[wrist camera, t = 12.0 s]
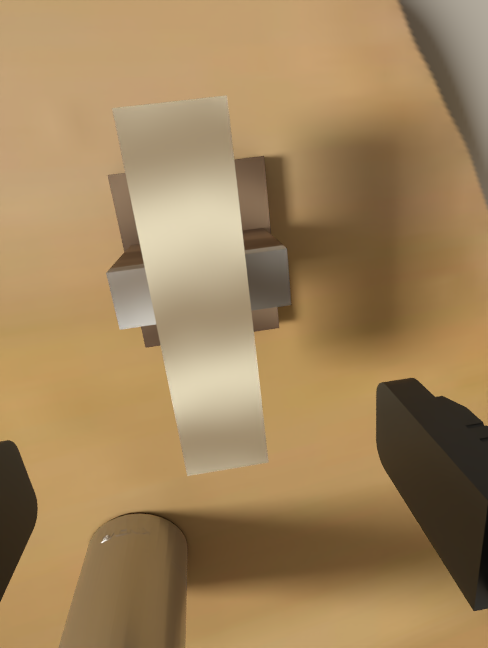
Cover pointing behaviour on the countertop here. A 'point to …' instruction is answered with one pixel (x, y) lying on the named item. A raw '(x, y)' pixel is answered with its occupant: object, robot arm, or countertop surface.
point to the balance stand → (259, 245)
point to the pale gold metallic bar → (196, 275)
